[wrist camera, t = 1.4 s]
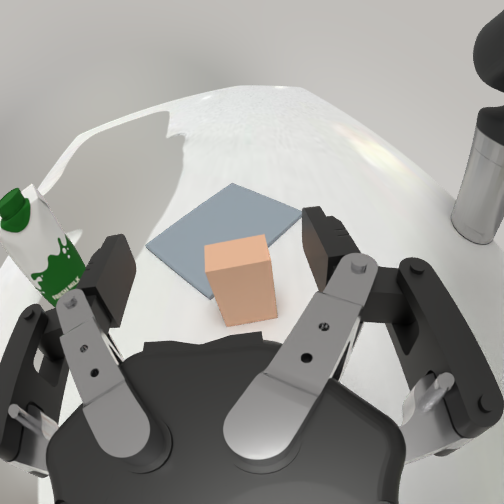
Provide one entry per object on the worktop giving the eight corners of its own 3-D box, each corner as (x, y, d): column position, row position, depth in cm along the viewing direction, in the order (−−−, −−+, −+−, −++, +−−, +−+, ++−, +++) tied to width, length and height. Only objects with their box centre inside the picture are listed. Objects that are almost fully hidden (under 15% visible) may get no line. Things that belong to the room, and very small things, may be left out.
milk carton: (64, 324, 35) (-19, 226, 21) (50, 292, 40) (-15, 203, 26) (104, 289, 39) (35, 181, 25) (86, 262, 44) (29, 167, 30)
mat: (232, 185, 54) (232, 183, 53) (303, 215, 45) (303, 212, 45) (146, 247, 45) (145, 245, 44) (210, 299, 36) (209, 297, 36)
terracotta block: (277, 317, 33) (270, 259, 26) (226, 326, 33) (205, 272, 26) (272, 293, 35) (264, 234, 28) (224, 302, 35) (204, 245, 28)
